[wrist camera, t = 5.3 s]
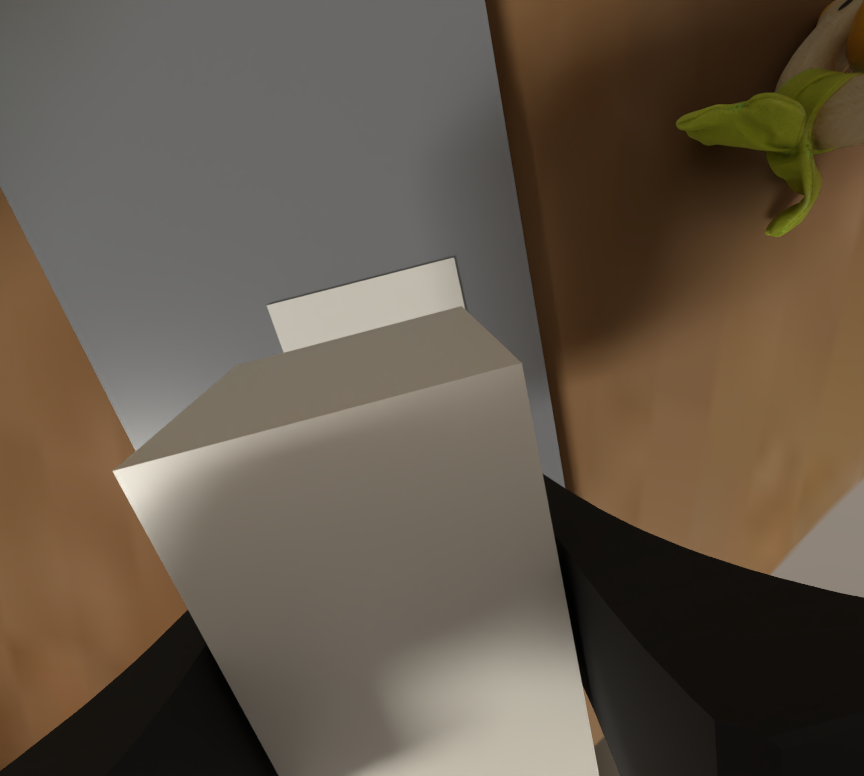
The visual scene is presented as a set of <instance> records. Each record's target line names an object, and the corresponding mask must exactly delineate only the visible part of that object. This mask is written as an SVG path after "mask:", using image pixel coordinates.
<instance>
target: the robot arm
mask: <svg viewBox="0 0 864 776" xmlns="http://www.w3.org/2000/svg"><path fill="white" fill-rule="evenodd" d="M543 479H544V484H545V489H546V495H547V500H548V505H549V511H550V516H551V521H552V527H553V532H554V537H555V543H556V548H557V553H558V559H559V564H560V569H561V575H562V580H563V585H564V591H565V596H566V601H567V607H568V612H569V618H570V623H571V628H572V634H573V639H574V644H575V650H576V655H577V660H578V666H579V671H580V676H581V682H582V685H583V687H584V689H585V691H586V694H587V696H588V698H589V700H590V702H591V705H592V707H593V709H594V712H595V714H596V716H597V719H598V721H599V724H600V726H601V729H602V731H603V734H604V736H605V739H606V741H607V744H608V746H609V749H610V751H611V754H612V756H613V758H614V761H615V764H616V766H617V769H618V771H619V773H620V776H864V598H863V597H858V596H852V595H847V594H842V593H838V592H833V591H829V590H825V589H821V588H817V587H813V586H809V585H805V584H801V583H797V582H794V581H790V580H785V579H781V578H778V577H774V576H771V575H767V574H764V573H760V572H757V571H753V570H750V569H746V568H743V567H740V566H737V565H734V564H731V563H728V562H725V561H722V560H719V559H716V558H713V557H709V556H706V555H703V554H701V553H698V552H695V551H692V550H690V549H687V548H684V547H682V546H679V545H677V544H674V543H672V542H669V541H667V540H665V539H662V538H660V537H657V536H655V535H652V534H650V533H648V532H645V531H643V530H641V529H639V528H637V527H634V526H632V525H630V524H628V523H626V522H624V521H622V520H620V519H618V518H616V517H614V516H612V515H610V514H608V513H606V512H604V511H603V510H601V509H599V508H597V507H596V506H594V505H592V504H590V503H589V502H587V501H585V500H584V499H582V498H580V497H579V496H577V495H575V494H574V493H572V492H570V491H569V490H567V489H566V488H564V487H563V486H561V485H560V484H558V483H556V482H555V481H553V480H552V479H550V478H549V477H547V476H546V475H544V474H543ZM0 776H278V774H277V772H276V770H275V768H274V766H273V765H272V763H271V761H270V759H269V757H268V755H267V753H266V752H265V750H264V748H263V746H262V744H261V742H260V741H259V739H258V737H257V735H256V733H255V731H254V730H253V728H252V726H251V724H250V722H249V720H248V719H247V717H246V715H245V713H244V711H243V709H242V708H241V706H240V704H239V702H238V700H237V698H236V697H235V695H234V693H233V691H232V689H231V687H230V686H229V684H228V682H227V680H226V678H225V676H224V675H223V673H222V671H221V669H220V667H219V665H218V664H217V662H216V660H215V658H214V656H213V654H212V653H211V651H210V649H209V647H208V645H207V643H206V642H205V640H204V638H203V636H202V634H201V632H200V631H199V629H198V627H197V625H196V623H195V621H194V620H193V618H192V616H191V614H190V612H189V610H187V611H186V612H185V613H184V614H183V615H182V616H181V617H180V618H179V619H178V620H177V621H176V622H175V623H174V624H173V625H172V626H171V627H170V628H169V629H168V630H167V631H166V632H165V633H164V634H163V635H162V636H161V637H160V638H159V639H158V640H157V641H156V642H155V643H154V644H153V645H152V646H151V647H150V648H149V649H148V650H147V651H146V652H144V653H143V654H142V655H141V656H140V657H139V658H138V659H137V660H136V661H135V662H134V663H133V664H131V665H130V666H129V667H128V668H127V669H126V670H125V671H124V672H123V673H121V674H120V675H119V676H118V677H117V678H116V679H115V680H113V681H112V682H111V683H110V684H109V685H108V686H106V687H105V688H104V689H103V690H102V691H101V692H99V693H98V694H97V695H96V696H95V697H94V698H93V699H91V700H90V701H89V702H88V703H87V704H85V705H84V706H83V707H82V708H81V709H79V710H78V711H77V712H76V713H74V714H73V715H72V716H71V717H69V718H68V719H67V720H65V721H64V722H63V723H62V724H60V725H59V726H58V727H56V728H55V729H54V730H53V731H51V732H50V733H49V734H48V735H46V736H45V737H44V738H42V739H41V740H40V741H39V742H37V743H36V744H35V745H33V746H32V747H31V748H30V749H28V750H27V751H26V752H25V753H23V754H22V755H21V756H19V757H18V758H17V759H16V760H14V761H13V762H12V763H10V764H9V765H8V766H6V767H5V768H4V769H2V770H1V771H0Z"/></svg>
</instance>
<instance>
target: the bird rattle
mask: <svg viewBox="0 0 864 776" xmlns="http://www.w3.org/2000/svg"><path fill="white" fill-rule="evenodd" d="M849 66H850V68H851V69H852V71H853V73H847V74H846V73H844V72H845V71H846V70H847V69H848V68H849ZM676 127H677V128H678V129H679V130H683V131H685V132H686V133H687V135H688V136H689V137H690V138H693V139H695V140H697V141H699V142H700V143H702V144H704V145H707V146H711V145H717V144H719V145H725V146H732V147H743V148H749V149H754V150H762V151H766V158H767V161H768V163H769V165H770V167H771V169H772V171H773V172H774V173H775V174H776V175H777V176H778V177H780V178H783V179H784V180H785V181H786V183H787V184H788V186H789V188H790V189H791V190H793V191H795V192H797V193H799V194H802V195H804V198H803V199H802V200H801V201H800V203H798V204H795V205H793V206H791V207H789V208H787V209H786V210H784V211H782V212H781V213H780V214H778V215H777V216H776V217H775V218H774V219H773V220H772V222H771V223H770V224H769V226H768V227H767V229H766V231H765V234H766V235H768V236H773V237H780V236H782V235H784V234H786V233H787V232H789V231H790V230H791V229H793V228H794V227H795V226H797V225H798V224H799V223H801V222H802V221H803V219H804V218H805V217H806V215H807V214H808V212H809V211H810V209H811V207H812V206H813V204H814V202H815V200H816V199H817V197H818V195H819V191H820V188H821V185H822V175H821V173H820V171H819V169H818V168H817V167H816V164H815V161H814V155H817V154H820V153H824V152H828V151H831V150H833V149H835V148H839V147H847V146H854V145H859V144H864V0H835V1H833V2H832V3H831V4H829V5H828V6H827V7H826V8H825V9H824V10H823V12H822V13H821V15H820V17H819V19H818V22H817V26H816V28H815V29H814V30H813V31H812V32H811V33H810V35H809V36H808V37H807V38H806V39H805V40H804V42H803V43H802V44H801V45H800V47H799V48H798V49H797V51H796V52H795V53H794V54H793V56H792V57H791V59H790V61H789V62H788V64H787V65H786V67H785V69H784V70H783V72H782V74H781V76H780V78H779V80H778V83H777V86H776V89H775V92H774V93H761V94H757V95H755V96H753V97H752V98H751V99H750V100H748V101H743V102H739V103H735V104H717V105H713V106H710V107H707V108H704V109H701V110H697V111H694V112H691V113H688V114H685V115H683V116H682V117H680V118H679V119H678V120H677V121H676Z"/></svg>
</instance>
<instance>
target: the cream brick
mask: <svg viewBox="0 0 864 776" xmlns="http://www.w3.org/2000/svg"><path fill="white" fill-rule="evenodd" d="M113 473H114V475H115V477H116V478H117V480H118V482H119V484H120V486H121V488H122V489H123V491H124V493H125V495H126V497H127V499H128V500H129V502H130V504H131V506H132V508H133V510H134V511H135V513H136V515H137V517H138V519H139V521H140V522H141V524H142V526H143V528H144V530H145V532H146V533H147V535H148V537H149V539H150V541H151V543H152V544H153V546H154V548H155V550H156V552H157V554H158V555H159V557H160V559H161V561H162V563H163V565H164V566H165V568H166V570H167V572H168V574H169V576H170V577H171V579H172V581H173V583H174V585H175V587H176V588H177V590H178V592H179V594H180V596H181V598H182V599H183V601H184V603H185V605H186V607H187V609H188V610H189V612H190V614H191V616H192V618H193V620H194V621H195V623H196V625H197V627H198V629H199V631H200V632H201V634H202V636H203V638H204V640H205V642H206V643H207V645H208V647H209V649H210V651H211V653H212V654H213V656H214V658H215V660H216V662H217V664H218V665H219V667H220V669H221V671H222V673H223V675H224V676H225V678H226V680H227V682H228V684H229V686H230V687H231V689H232V691H233V693H234V695H235V697H236V698H237V700H238V702H239V704H240V706H241V708H242V709H243V711H244V713H245V715H246V717H247V719H248V720H249V722H250V724H251V726H252V728H253V730H254V731H255V733H256V735H257V737H258V739H259V741H260V742H261V744H262V746H263V748H264V750H265V752H266V753H267V755H268V757H269V759H270V761H271V763H272V765H273V766H274V768H275V770H276V772H277V774H278V776H599V773H598V767H597V762H596V757H595V751H594V746H593V740H592V735H591V730H590V724H589V719H588V714H587V708H586V703H585V698H584V692H583V687H582V682H581V676H580V671H579V666H578V660H577V655H576V650H575V644H574V639H573V634H572V628H571V623H570V618H569V612H568V607H567V601H566V596H565V591H564V585H563V580H562V575H561V569H560V564H559V559H558V553H557V548H556V543H555V537H554V532H553V527H552V521H551V516H550V511H549V505H548V500H547V495H546V489H545V484H544V479H543V473H542V468H541V463H540V457H539V452H538V446H537V441H536V436H535V430H534V425H533V420H532V414H531V409H530V404H529V398H528V393H527V388H526V382H525V377H524V372H523V366H522V363H521V362H520V361H519V360H518V359H517V358H516V357H515V356H514V355H513V354H512V353H511V352H510V351H509V350H508V349H507V348H506V347H504V346H503V345H502V344H501V343H500V342H499V341H498V340H497V339H496V338H495V337H494V336H493V335H492V334H491V333H490V332H489V331H487V330H486V329H485V328H484V327H483V326H482V325H481V324H480V323H479V322H478V321H477V320H476V319H475V318H474V317H473V316H472V315H471V314H469V313H468V312H467V311H466V310H465V309H464V308H463V307H462V306H460V307H456V308H452V309H448V310H445V311H441V312H437V313H433V314H429V315H426V316H422V317H418V318H414V319H410V320H406V321H403V322H399V323H395V324H391V325H387V326H384V327H380V328H376V329H372V330H368V331H365V332H361V333H357V334H353V335H349V336H346V337H342V338H338V339H334V340H330V341H327V342H323V343H319V344H315V345H311V346H308V347H304V348H300V349H296V350H292V351H288V352H285V353H281V354H277V355H273V356H269V357H266V358H262V359H258V360H254V361H250V362H247V363H243V364H239V365H236V366H235V367H234V368H233V369H231V370H230V371H229V372H228V373H227V374H226V375H224V376H223V377H222V378H221V379H220V380H219V381H217V382H216V383H215V384H214V385H213V386H211V387H210V388H209V389H208V390H207V391H206V392H204V393H203V394H202V395H201V396H200V397H199V398H197V399H196V400H195V401H194V402H193V403H192V404H190V405H189V406H188V407H187V408H186V409H185V410H183V411H182V412H181V413H180V414H179V415H178V416H176V417H175V418H174V419H173V420H172V421H171V422H169V423H168V424H167V425H166V426H165V427H163V428H162V429H161V430H160V431H159V432H158V433H156V434H155V435H154V436H153V437H152V438H151V439H149V440H148V441H147V442H146V443H145V444H144V445H142V446H141V447H140V448H139V449H138V450H137V451H135V452H134V453H133V454H132V455H131V456H130V457H128V458H127V459H126V460H125V461H124V462H123V463H121V464H120V465H119V466H118V467H117V468H115V469H114V470H113Z"/></svg>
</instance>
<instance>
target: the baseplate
mask: <svg viewBox="0 0 864 776" xmlns="http://www.w3.org/2000/svg"><path fill="white" fill-rule="evenodd" d="M0 187H1V189H2V191H3V193H4V195H5V197H6V199H7V201H8V203H9V205H10V207H11V209H12V210H13V212H14V214H15V216H16V218H17V220H18V222H19V224H20V226H21V228H22V230H23V232H24V234H25V236H26V238H27V240H28V242H29V244H30V246H31V248H32V250H33V251H34V253H35V255H36V257H37V259H38V261H39V263H40V265H41V267H42V269H43V271H44V273H45V275H46V277H47V279H48V281H49V283H50V285H51V287H52V289H53V291H54V293H55V294H56V296H57V298H58V300H59V302H60V304H61V306H62V308H63V310H64V312H65V314H66V316H67V318H68V320H69V322H70V324H71V326H72V328H73V330H74V332H75V334H76V335H77V337H78V339H79V341H80V343H81V345H82V347H83V349H84V351H85V353H86V355H87V357H88V359H89V361H90V363H91V365H92V367H93V369H94V371H95V373H96V375H97V377H98V378H99V380H100V382H101V384H102V386H103V388H104V390H105V392H106V394H107V396H108V398H109V400H110V402H111V404H112V406H113V408H114V410H115V412H116V414H117V416H118V418H119V419H120V421H121V423H122V425H123V427H124V429H125V431H126V433H127V435H128V437H129V439H130V441H131V443H132V445H133V447H134V449H135V451H137V450H138V449H139V448H140V447H141V446H142V445H144V444H145V443H146V442H147V441H148V440H149V439H151V438H152V437H153V436H154V435H155V434H156V433H158V432H159V431H160V430H161V429H162V428H163V427H165V426H166V425H167V424H168V423H169V422H171V421H172V420H173V419H174V418H175V417H176V416H178V415H179V414H180V413H181V412H182V411H183V410H185V409H186V408H187V407H188V406H189V405H190V404H192V403H193V402H194V401H195V400H196V399H197V398H199V397H200V396H201V395H202V394H203V393H204V392H206V391H207V390H208V389H209V388H210V387H211V386H213V385H214V384H215V383H216V382H217V381H219V380H220V379H221V378H222V377H223V376H224V375H226V374H227V373H228V372H229V371H230V370H231V369H233V368H234V367H235V366H236V365H239V364H243V363H247V362H250V361H254V360H258V359H262V358H266V357H269V356H273V355H277V354H281V353H285V352H288V351H292V350H296V349H300V348H304V347H308V346H311V345H315V344H319V343H323V342H327V341H330V340H334V339H338V338H342V337H346V336H349V335H353V334H357V333H361V332H365V331H368V330H372V329H376V328H380V327H384V326H387V325H391V324H395V323H399V322H403V321H406V320H410V319H414V318H418V317H422V316H426V315H429V314H433V313H437V312H441V311H445V310H448V309H452V308H456V307H460V306H462V307H463V308H464V309H465V310H466V311H467V312H468V313H469V314H471V315H472V316H473V317H474V318H475V319H476V320H477V321H478V322H479V323H480V324H481V325H482V326H483V327H484V328H485V329H486V330H487V331H489V332H490V333H491V334H492V335H493V336H494V337H495V338H496V339H497V340H498V341H499V342H500V343H501V344H502V345H503V346H504V347H506V348H507V349H508V350H509V351H510V352H511V353H512V354H513V355H514V356H515V357H516V358H517V359H518V360H519V361H520V362H521V363H522V366H523V372H524V377H525V382H526V388H527V393H528V398H529V404H530V409H531V414H532V420H533V425H534V430H535V436H536V441H537V446H538V452H539V457H540V463H541V468H542V473H543V474H544V475H546V476H547V477H549V478H550V479H552V480H553V481H555V482H556V483H558V484H560V485H561V486H563V487H564V488H565V483H564V477H563V471H562V465H561V459H560V453H559V447H558V441H557V435H556V429H555V423H554V417H553V411H552V404H551V398H550V392H549V386H548V380H547V374H546V368H545V362H544V356H543V350H542V344H541V338H540V332H539V326H538V320H537V313H536V307H535V301H534V295H533V289H532V283H531V277H530V271H529V265H528V259H527V253H526V247H525V241H524V235H523V229H522V223H521V216H520V210H519V204H518V198H517V192H516V186H515V180H514V174H513V168H512V162H511V156H510V150H509V144H508V138H507V132H506V126H505V119H504V113H503V107H502V101H501V95H500V89H499V83H498V77H497V71H496V65H495V59H494V53H493V47H492V41H491V35H490V28H489V22H488V16H487V10H486V4H485V0H0Z"/></svg>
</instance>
